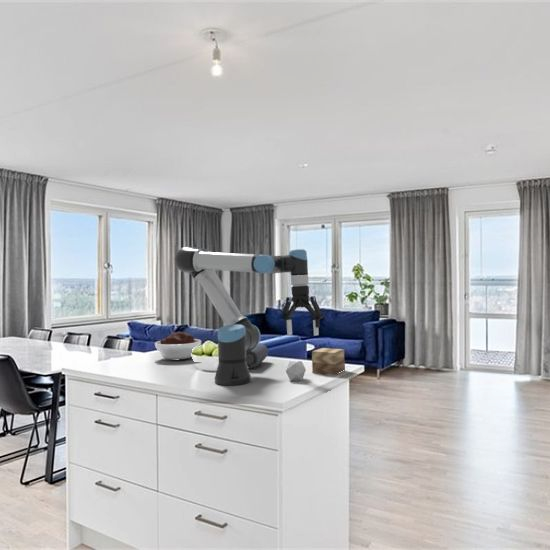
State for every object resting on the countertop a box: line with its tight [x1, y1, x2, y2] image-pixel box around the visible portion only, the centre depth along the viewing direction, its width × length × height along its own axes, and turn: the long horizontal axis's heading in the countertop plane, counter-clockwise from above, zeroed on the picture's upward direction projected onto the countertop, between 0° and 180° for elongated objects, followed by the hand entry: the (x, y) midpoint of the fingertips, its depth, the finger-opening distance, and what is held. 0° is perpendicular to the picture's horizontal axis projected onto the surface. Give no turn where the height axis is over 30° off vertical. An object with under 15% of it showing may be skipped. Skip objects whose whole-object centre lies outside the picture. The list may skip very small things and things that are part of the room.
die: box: [285, 360, 307, 382], centre depth 206 cm, size 8×9×10 cm
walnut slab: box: [311, 359, 346, 376], centre depth 221 cm, size 11×11×5 cm
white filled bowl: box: [154, 331, 202, 360], centre depth 266 cm, size 25×25×15 cm
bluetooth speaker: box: [246, 343, 269, 369], centre depth 240 cm, size 23×9×10 cm, turn 168°
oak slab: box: [311, 347, 345, 364], centre depth 222 cm, size 11×11×5 cm
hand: (302, 335), depth 209 cm, fingers open, 13 cm apart
